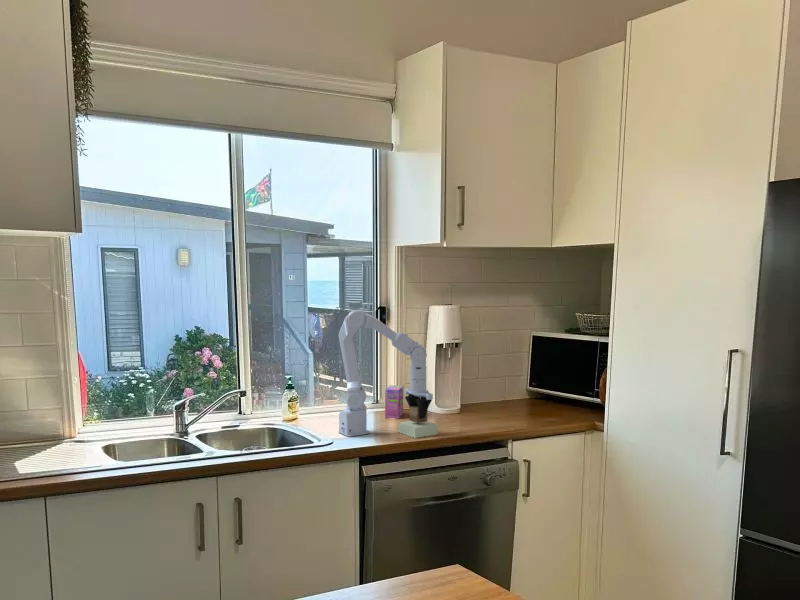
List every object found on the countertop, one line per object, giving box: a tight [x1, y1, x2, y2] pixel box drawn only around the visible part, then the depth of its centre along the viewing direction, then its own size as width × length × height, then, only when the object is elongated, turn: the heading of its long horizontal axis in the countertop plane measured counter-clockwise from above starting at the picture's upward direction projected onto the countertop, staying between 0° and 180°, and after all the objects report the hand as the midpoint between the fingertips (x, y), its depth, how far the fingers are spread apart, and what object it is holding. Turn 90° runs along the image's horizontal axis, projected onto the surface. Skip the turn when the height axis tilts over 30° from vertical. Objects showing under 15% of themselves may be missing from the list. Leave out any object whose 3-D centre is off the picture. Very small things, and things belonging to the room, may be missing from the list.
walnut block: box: [409, 406, 428, 423], centre depth 214 cm, size 4×4×5 cm
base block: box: [398, 420, 439, 439], centre depth 214 cm, size 10×10×4 cm
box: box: [384, 384, 405, 420], centre depth 243 cm, size 10×6×12 cm, turn 168°
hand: (418, 416), depth 214 cm, fingers closed on walnut block, 4 cm apart
